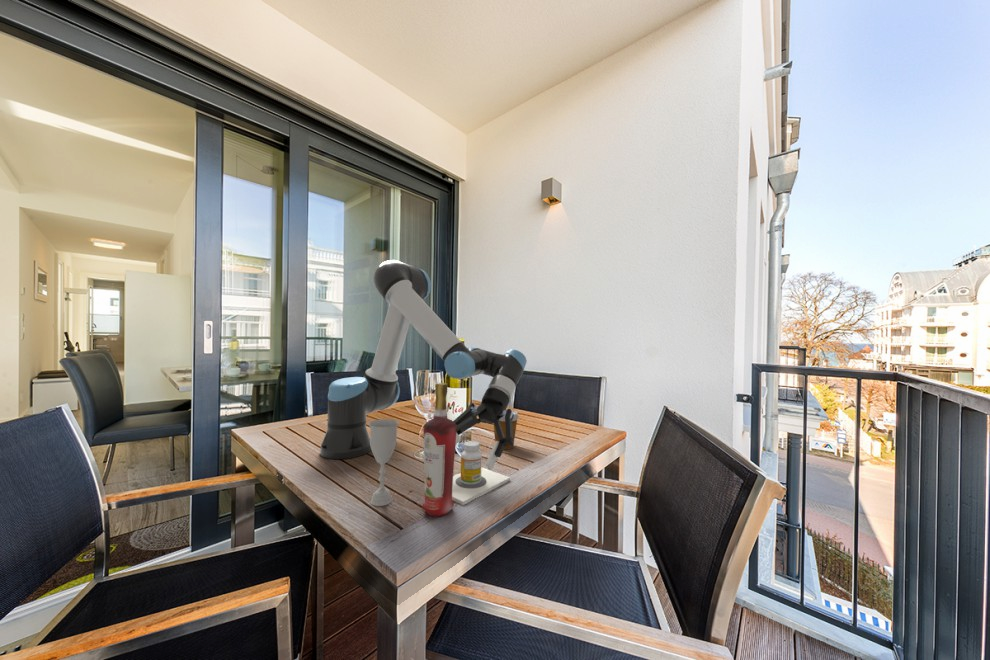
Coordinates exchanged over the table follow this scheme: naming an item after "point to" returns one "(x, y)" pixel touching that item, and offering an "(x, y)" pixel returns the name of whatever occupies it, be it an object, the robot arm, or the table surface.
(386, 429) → the chalice
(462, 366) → the robot arm
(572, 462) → the table surface
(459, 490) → the cream rectangular slab
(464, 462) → the supplement bottle
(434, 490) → the liquor
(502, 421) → the disposable coffee cup
